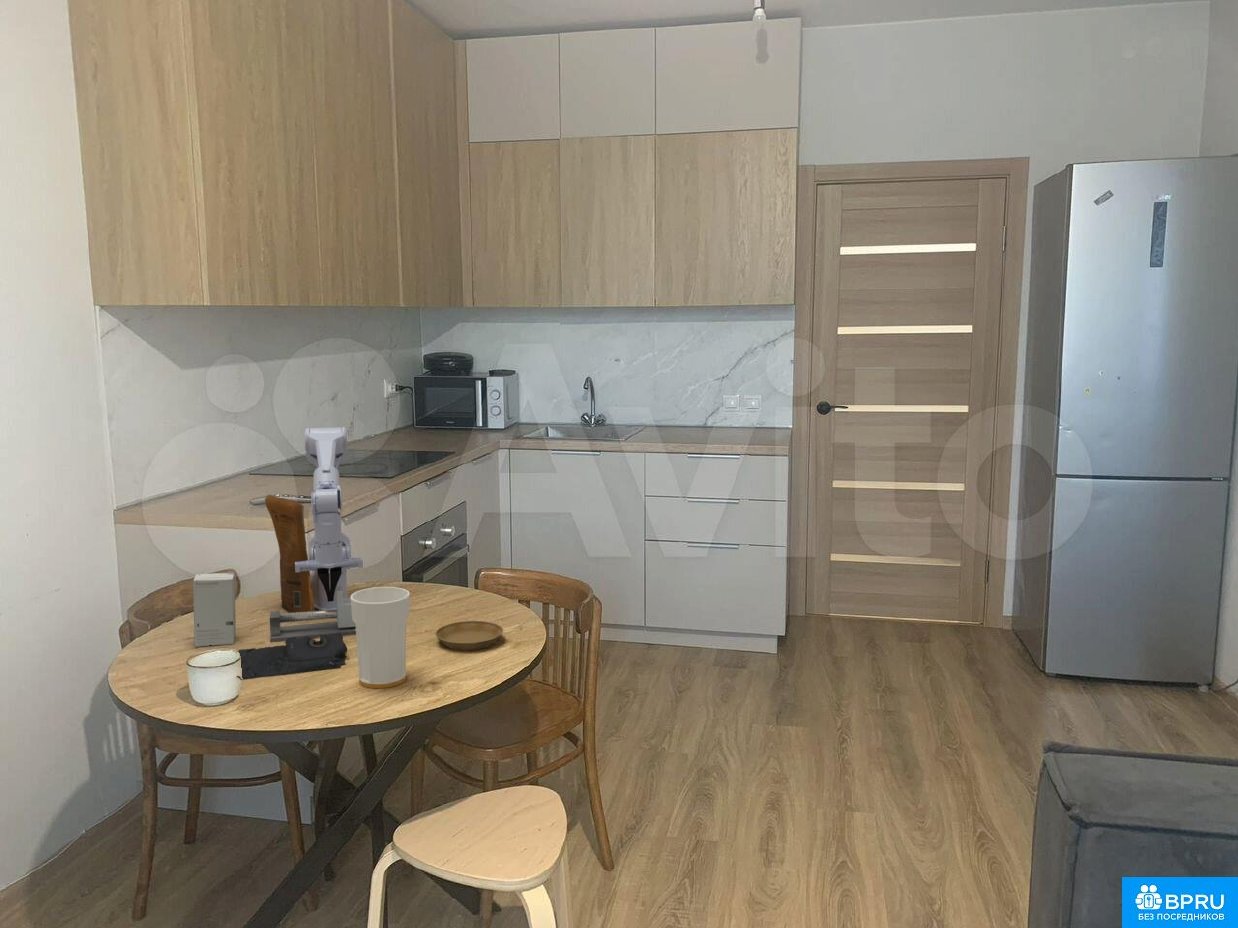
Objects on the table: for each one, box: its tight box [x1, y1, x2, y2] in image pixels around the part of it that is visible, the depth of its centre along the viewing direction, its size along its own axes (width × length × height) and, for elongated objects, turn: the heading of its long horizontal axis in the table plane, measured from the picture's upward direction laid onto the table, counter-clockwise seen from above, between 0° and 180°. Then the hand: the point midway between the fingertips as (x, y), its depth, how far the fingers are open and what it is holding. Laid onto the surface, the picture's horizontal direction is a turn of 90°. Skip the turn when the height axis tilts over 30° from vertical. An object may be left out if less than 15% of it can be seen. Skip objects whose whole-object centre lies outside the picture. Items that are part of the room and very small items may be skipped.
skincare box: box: [192, 572, 237, 648], centre depth 209 cm, size 8×6×15 cm
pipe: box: [269, 609, 338, 637], centre depth 217 cm, size 26×5×5 cm, turn 108°
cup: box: [350, 586, 411, 689], centre depth 188 cm, size 11×11×17 cm
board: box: [269, 621, 356, 643], centre depth 217 cm, size 26×8×1 cm, turn 108°
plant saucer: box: [434, 620, 504, 651], centre depth 211 cm, size 15×15×3 cm
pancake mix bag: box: [264, 494, 315, 613], centre depth 230 cm, size 7×19×28 cm, turn 38°
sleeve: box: [336, 586, 356, 628], centre depth 218 cm, size 4×5×8 cm
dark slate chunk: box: [237, 632, 348, 681], centre depth 198 cm, size 15×22×5 cm
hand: (330, 600), depth 216 cm, fingers closed
